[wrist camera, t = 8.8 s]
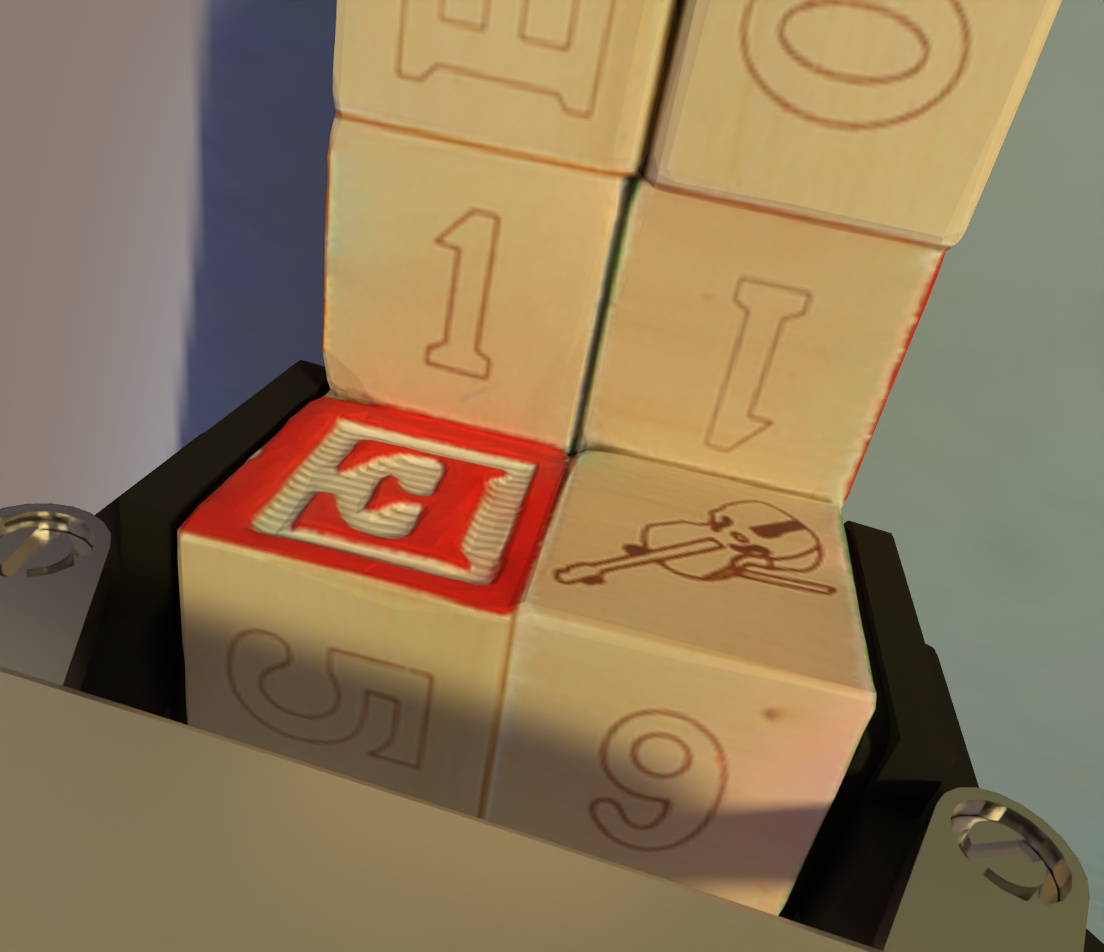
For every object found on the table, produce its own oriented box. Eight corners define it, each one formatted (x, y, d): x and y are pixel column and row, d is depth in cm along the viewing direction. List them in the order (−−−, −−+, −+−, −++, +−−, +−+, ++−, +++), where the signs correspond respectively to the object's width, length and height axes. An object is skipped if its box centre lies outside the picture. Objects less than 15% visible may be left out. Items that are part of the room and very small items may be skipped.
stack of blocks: (588, -361, 14) (37, -1840, 3) (992, -289, 13) (2194, -1728, 2) (434, 665, 24) (191, 1190, 13) (655, 726, 23) (590, 1319, 13)
